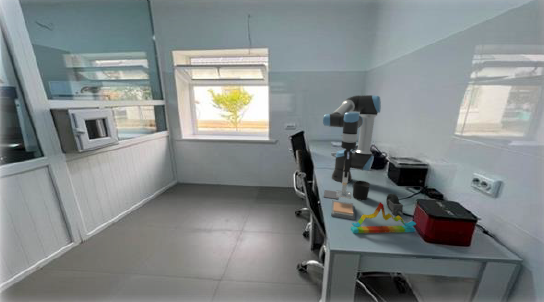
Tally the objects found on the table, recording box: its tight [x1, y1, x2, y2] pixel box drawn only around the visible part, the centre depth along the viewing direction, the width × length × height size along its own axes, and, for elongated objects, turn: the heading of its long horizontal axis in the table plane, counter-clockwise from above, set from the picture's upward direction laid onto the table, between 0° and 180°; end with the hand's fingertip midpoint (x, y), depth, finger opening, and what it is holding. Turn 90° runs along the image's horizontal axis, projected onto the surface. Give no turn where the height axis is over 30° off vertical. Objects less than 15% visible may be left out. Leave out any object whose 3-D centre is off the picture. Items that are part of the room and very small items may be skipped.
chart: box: [350, 201, 417, 234], centre depth 99 cm, size 30×3×15 cm, turn 93°
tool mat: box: [323, 189, 339, 200], centre depth 138 cm, size 11×9×1 cm
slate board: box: [330, 199, 356, 221], centre depth 119 cm, size 16×12×2 cm
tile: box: [333, 202, 353, 216], centre depth 117 cm, size 2×10×10 cm
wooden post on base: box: [336, 182, 352, 200], centre depth 120 cm, size 8×8×18 cm
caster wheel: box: [385, 193, 404, 216], centre depth 117 cm, size 6×10×15 cm
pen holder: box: [352, 180, 371, 201], centre depth 134 cm, size 9×9×10 cm
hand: (344, 181), depth 120 cm, fingers closed on wooden post on base, 2 cm apart
